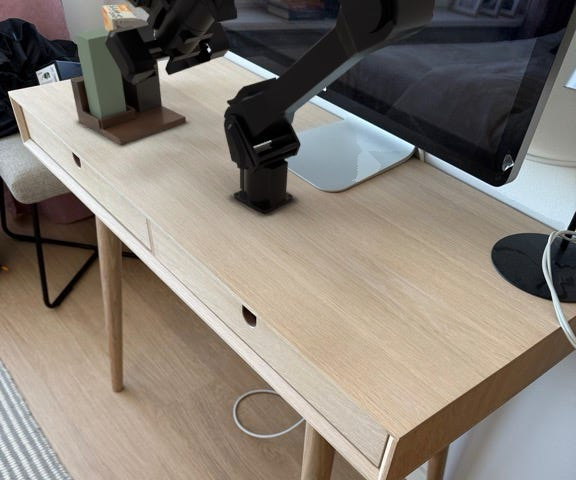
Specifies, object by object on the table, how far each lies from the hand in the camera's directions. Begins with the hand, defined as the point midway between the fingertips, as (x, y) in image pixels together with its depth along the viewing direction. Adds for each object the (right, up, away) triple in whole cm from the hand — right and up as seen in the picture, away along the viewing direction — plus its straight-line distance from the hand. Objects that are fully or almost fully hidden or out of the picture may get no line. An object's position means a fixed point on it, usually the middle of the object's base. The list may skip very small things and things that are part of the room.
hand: (150, 76), depth 88 cm
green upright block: (-9, -2, +10) cm, 14 cm away
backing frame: (-6, -2, +12) cm, 13 cm away
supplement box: (-9, +10, +22) cm, 26 cm away
